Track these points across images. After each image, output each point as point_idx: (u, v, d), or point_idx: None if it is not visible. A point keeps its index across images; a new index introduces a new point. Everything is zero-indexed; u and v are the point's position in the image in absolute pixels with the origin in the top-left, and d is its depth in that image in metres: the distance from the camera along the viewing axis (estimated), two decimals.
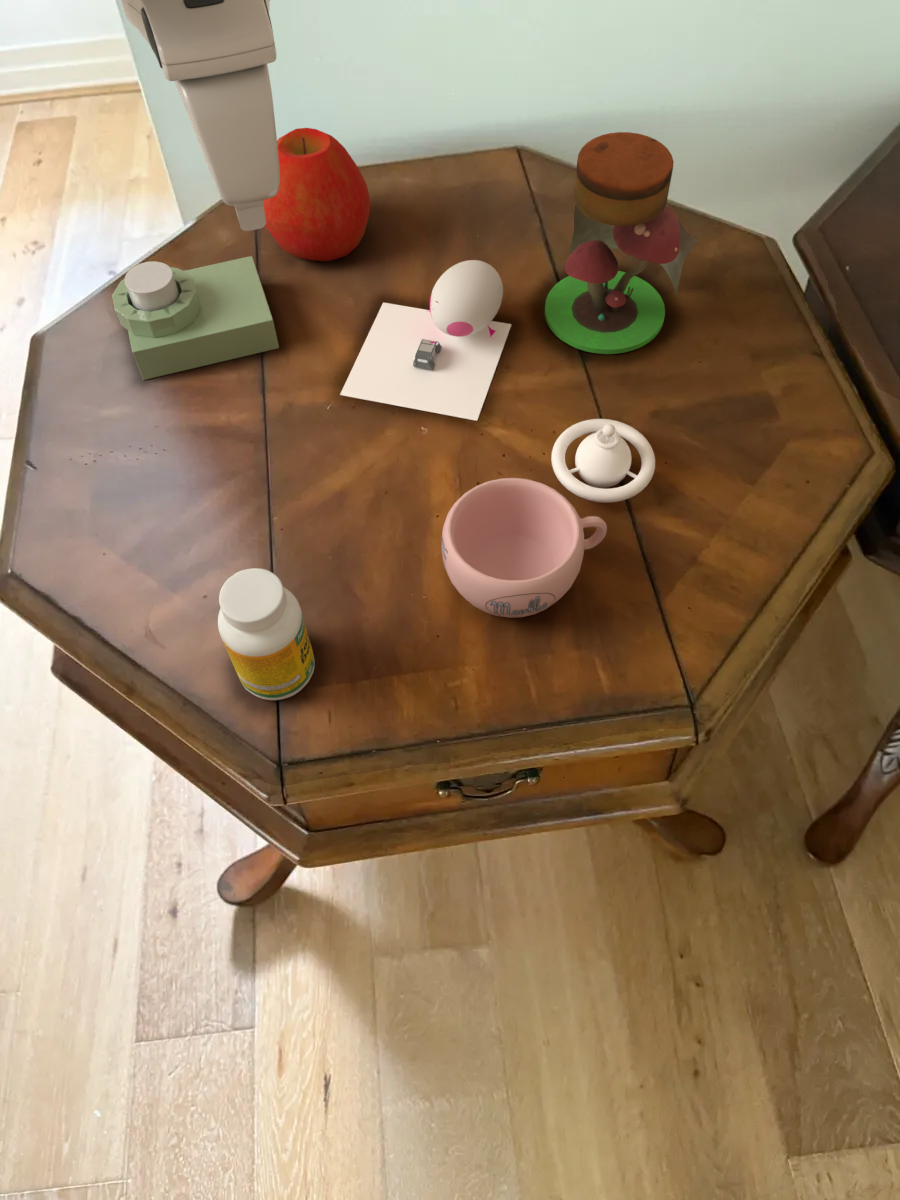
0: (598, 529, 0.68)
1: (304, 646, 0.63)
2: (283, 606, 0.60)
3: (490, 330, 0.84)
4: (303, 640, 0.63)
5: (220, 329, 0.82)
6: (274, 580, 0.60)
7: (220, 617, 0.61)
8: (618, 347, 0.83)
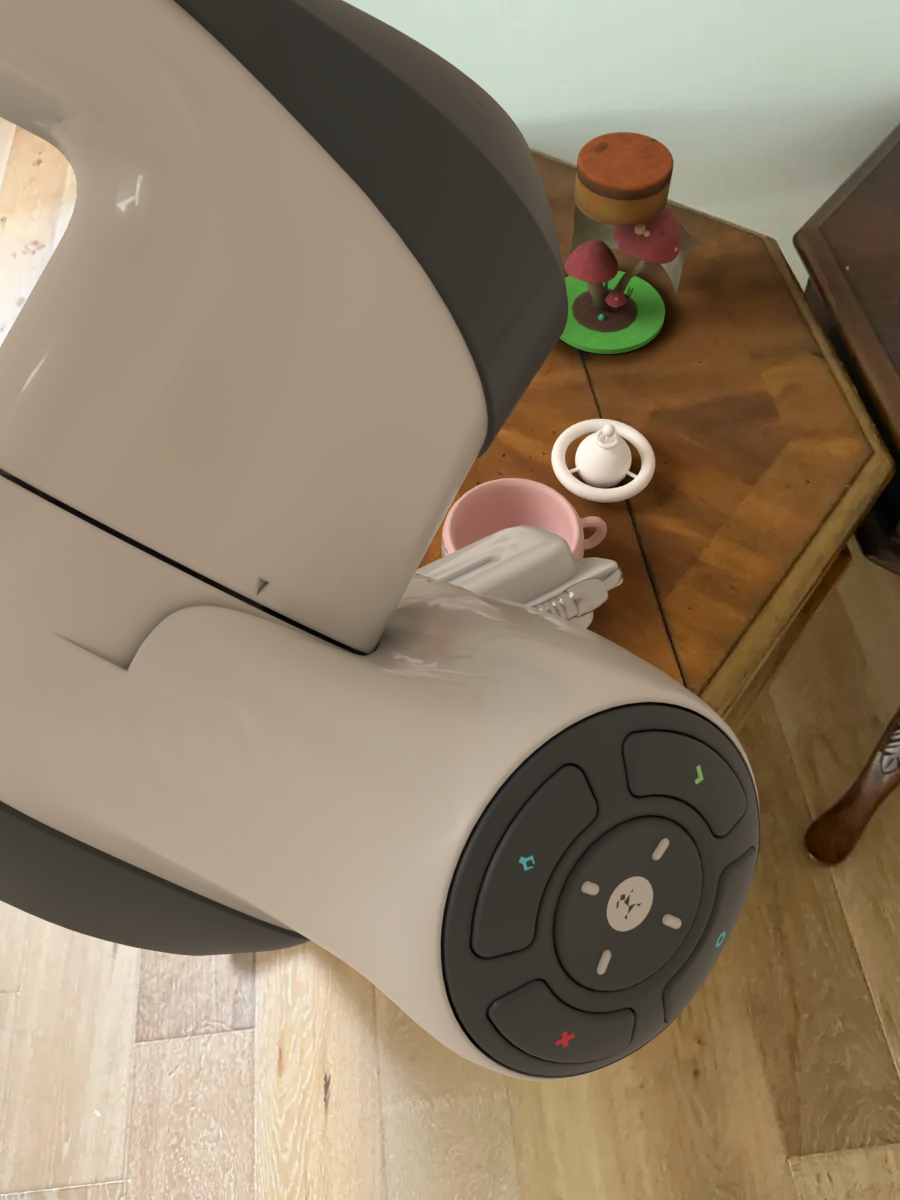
0: (598, 529, 0.68)
1: None
2: None
3: None
4: None
5: None
6: None
7: None
8: (618, 347, 0.83)
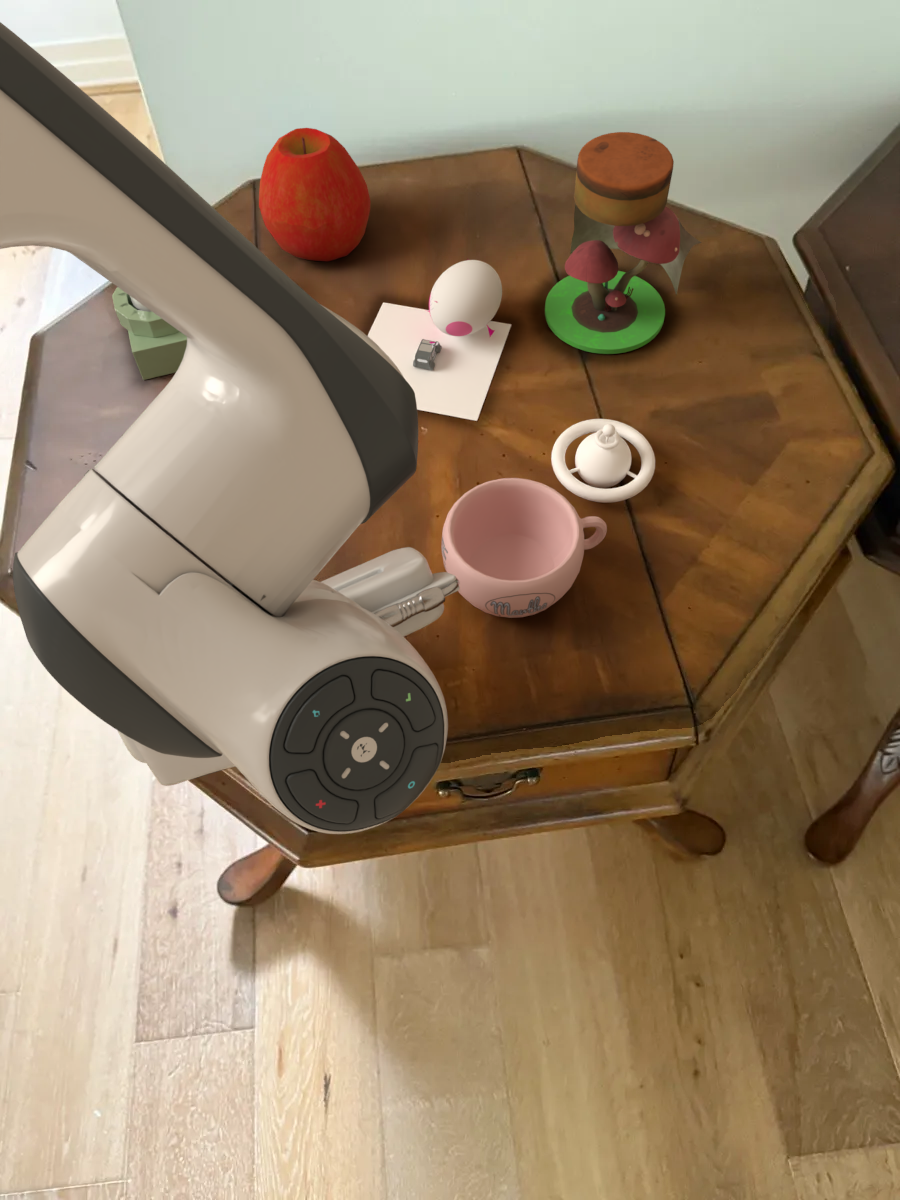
0: (598, 529, 0.68)
1: None
2: None
3: (489, 330, 0.84)
4: None
5: None
6: None
7: None
8: (618, 347, 0.83)
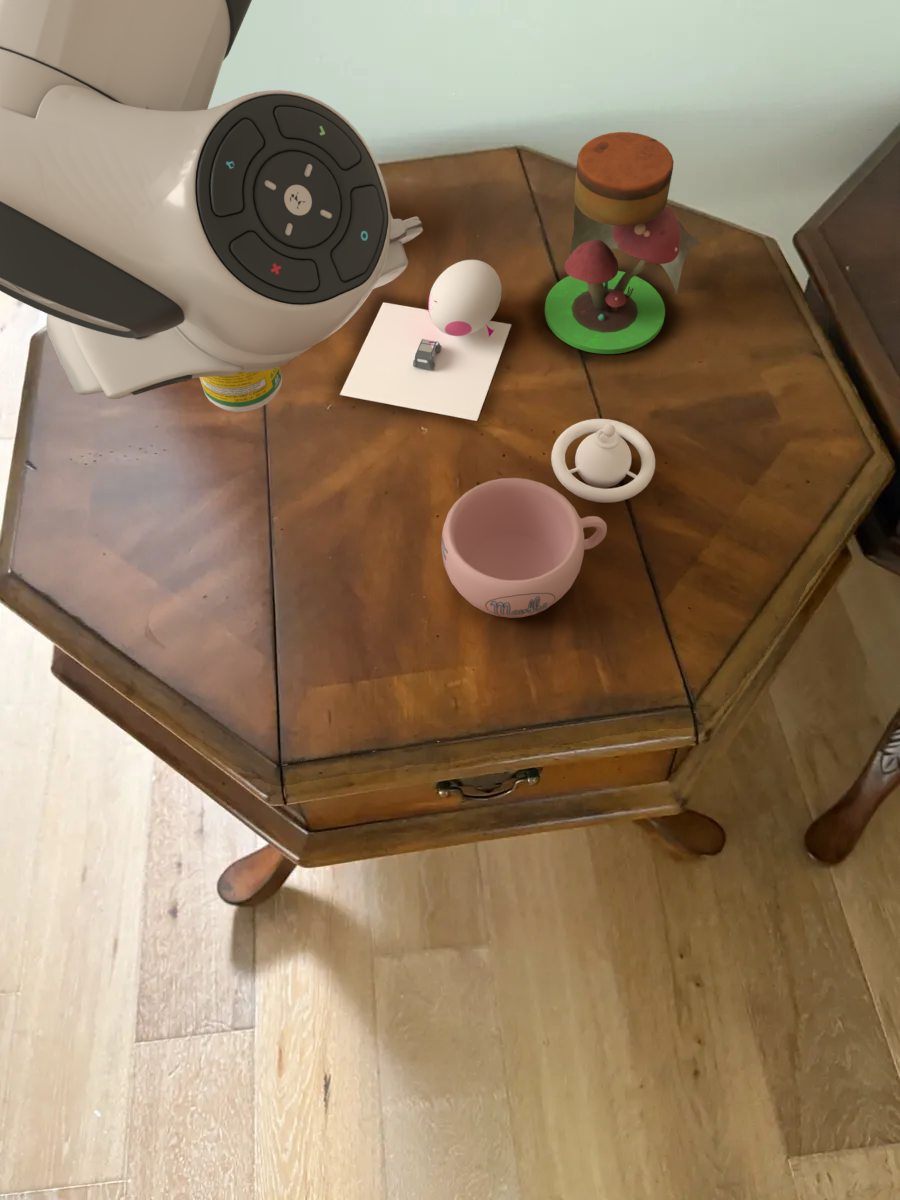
0: (598, 529, 0.68)
1: None
2: None
3: (489, 330, 0.84)
4: None
5: None
6: None
7: None
8: (618, 347, 0.83)
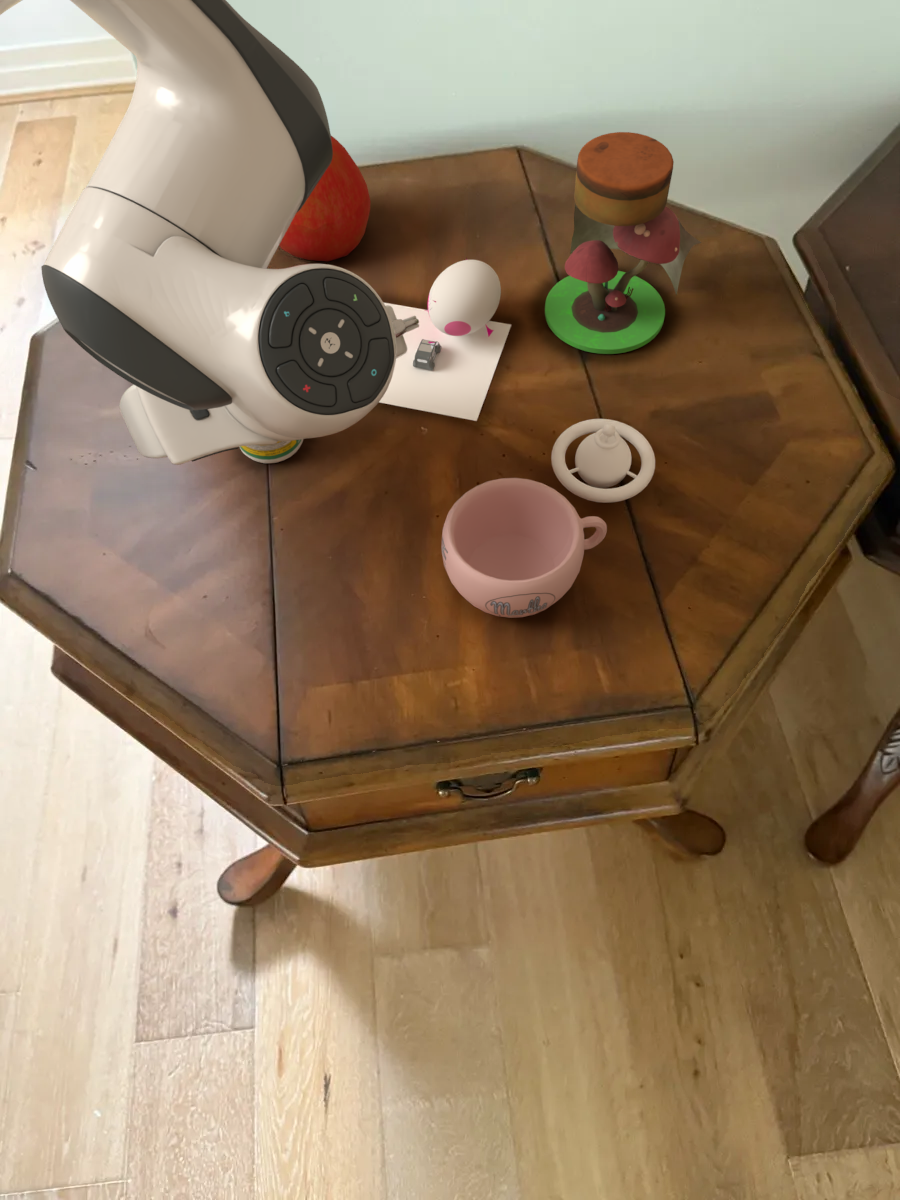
0: (598, 529, 0.68)
1: None
2: None
3: (488, 330, 0.84)
4: None
5: None
6: None
7: None
8: (618, 347, 0.83)
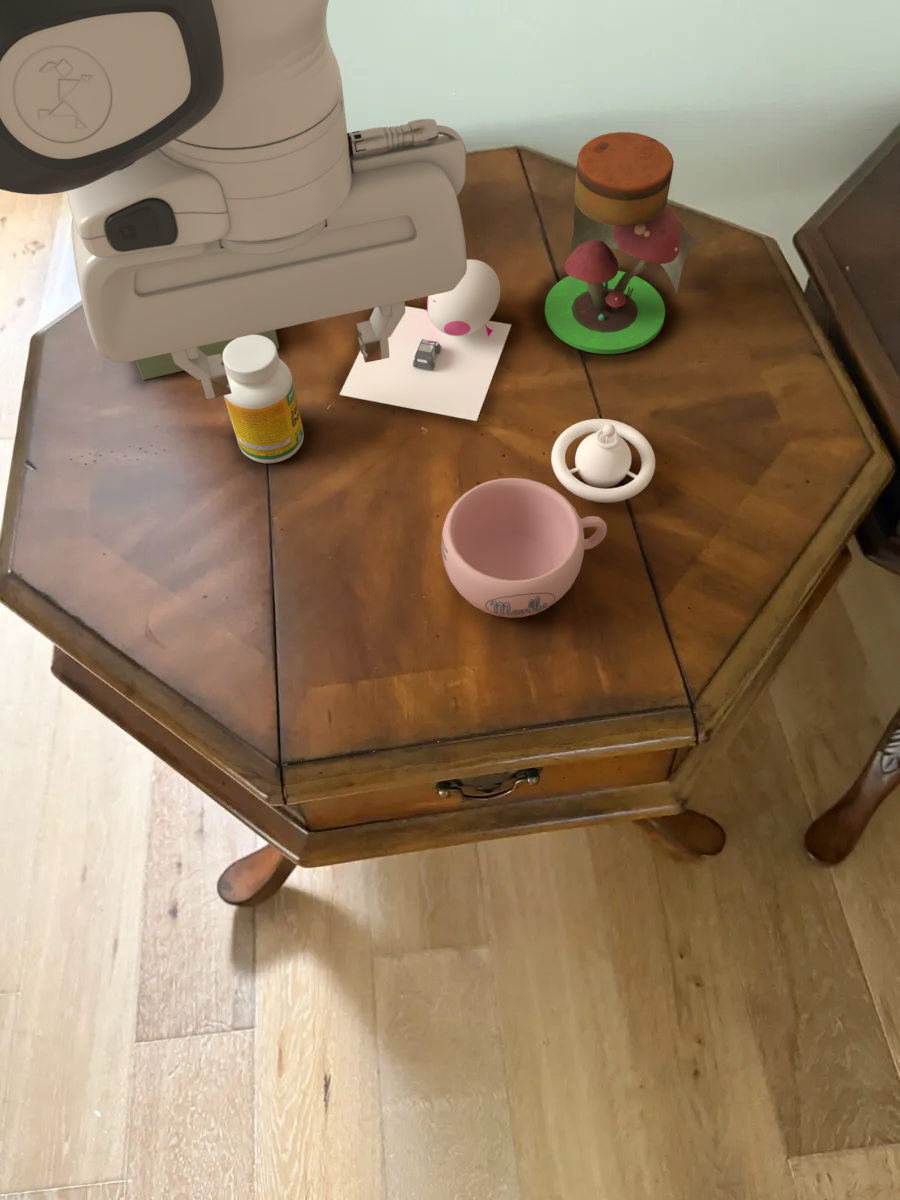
0: (598, 529, 0.68)
1: (294, 410, 0.75)
2: (276, 363, 0.71)
3: (487, 329, 0.84)
4: (293, 403, 0.75)
5: None
6: (268, 342, 0.71)
7: None
8: (618, 347, 0.83)
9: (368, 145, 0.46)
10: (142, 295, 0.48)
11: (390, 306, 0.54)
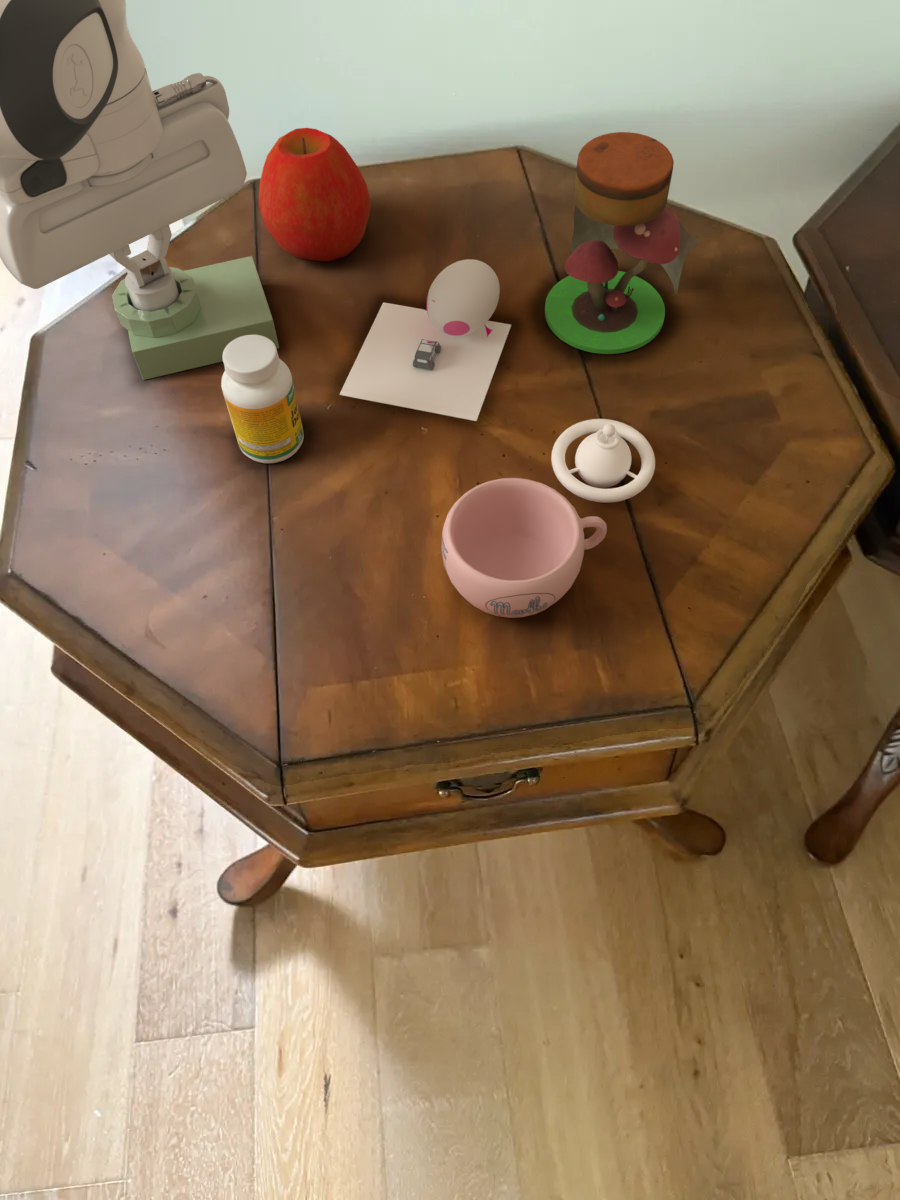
0: (598, 529, 0.68)
1: (294, 410, 0.75)
2: (276, 363, 0.71)
3: (487, 329, 0.84)
4: (293, 403, 0.75)
5: (220, 329, 0.82)
6: (268, 342, 0.71)
7: (223, 378, 0.73)
8: (618, 347, 0.83)
9: (165, 97, 0.71)
10: (44, 232, 0.70)
11: (160, 231, 0.77)
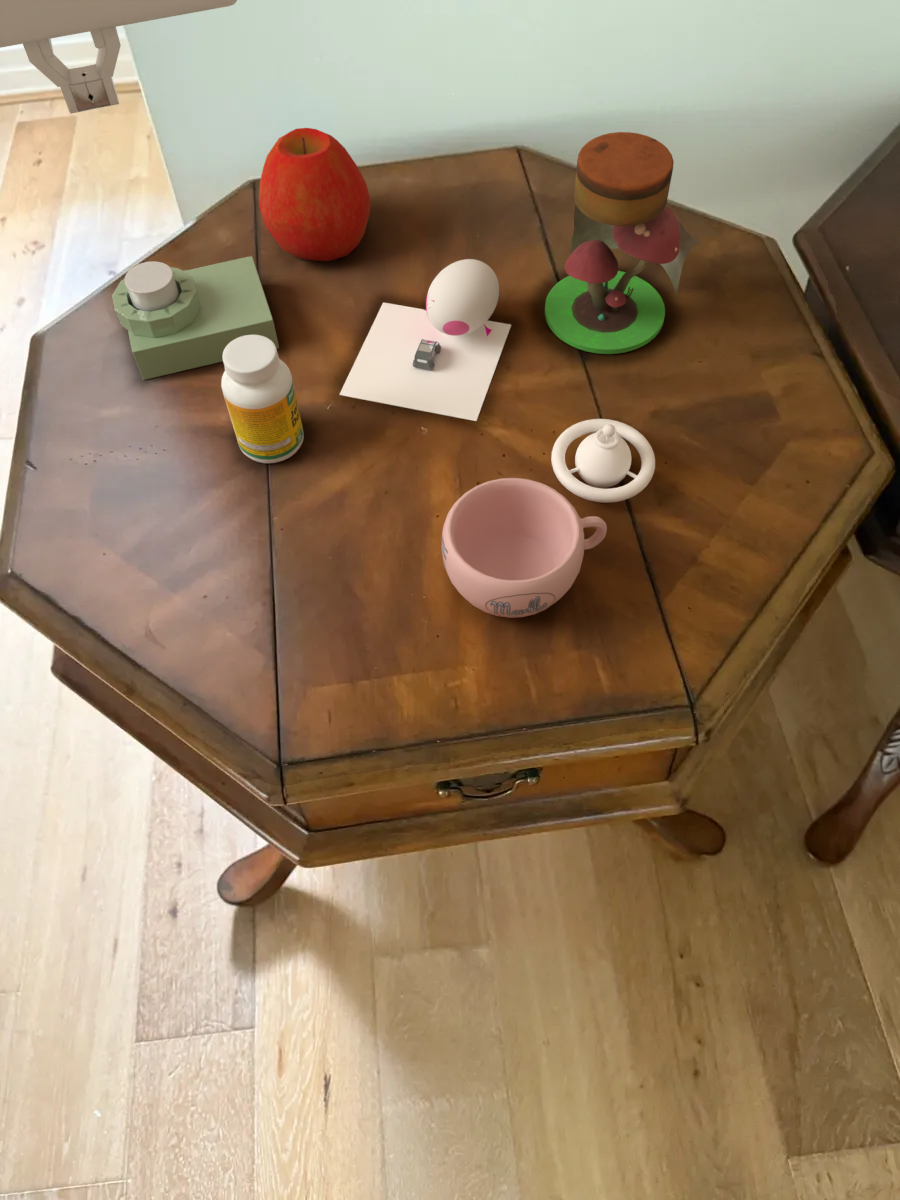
0: (598, 529, 0.68)
1: (294, 410, 0.75)
2: (276, 363, 0.71)
3: (486, 329, 0.84)
4: (293, 403, 0.75)
5: (220, 329, 0.82)
6: (268, 342, 0.71)
7: (223, 378, 0.73)
8: (618, 347, 0.83)
9: None
10: None
11: (102, 36, 0.54)
